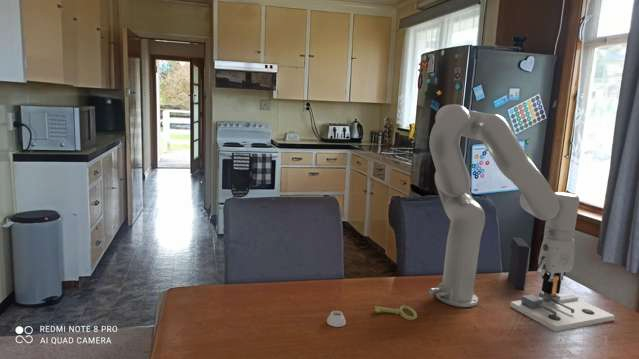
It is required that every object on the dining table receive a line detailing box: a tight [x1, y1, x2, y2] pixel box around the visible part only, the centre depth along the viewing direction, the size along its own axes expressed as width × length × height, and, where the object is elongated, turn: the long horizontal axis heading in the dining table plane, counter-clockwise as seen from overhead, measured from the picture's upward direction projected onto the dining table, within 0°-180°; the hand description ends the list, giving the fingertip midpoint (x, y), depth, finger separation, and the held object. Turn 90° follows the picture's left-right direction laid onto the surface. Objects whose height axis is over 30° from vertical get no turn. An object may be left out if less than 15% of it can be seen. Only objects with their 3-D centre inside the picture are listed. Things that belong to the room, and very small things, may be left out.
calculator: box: [507, 237, 531, 290], centre depth 156 cm, size 11×4×15 cm, turn 168°
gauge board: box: [509, 293, 615, 332], centre depth 135 cm, size 24×16×4 cm, turn 113°
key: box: [373, 305, 418, 321], centre depth 127 cm, size 7×12×2 cm, turn 110°
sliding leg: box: [538, 273, 574, 313], centre depth 134 cm, size 4×10×8 cm, turn 23°
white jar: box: [326, 310, 347, 328], centre depth 119 cm, size 5×3×5 cm
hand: (550, 291), depth 137 cm, fingers closed on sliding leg, 2 cm apart
